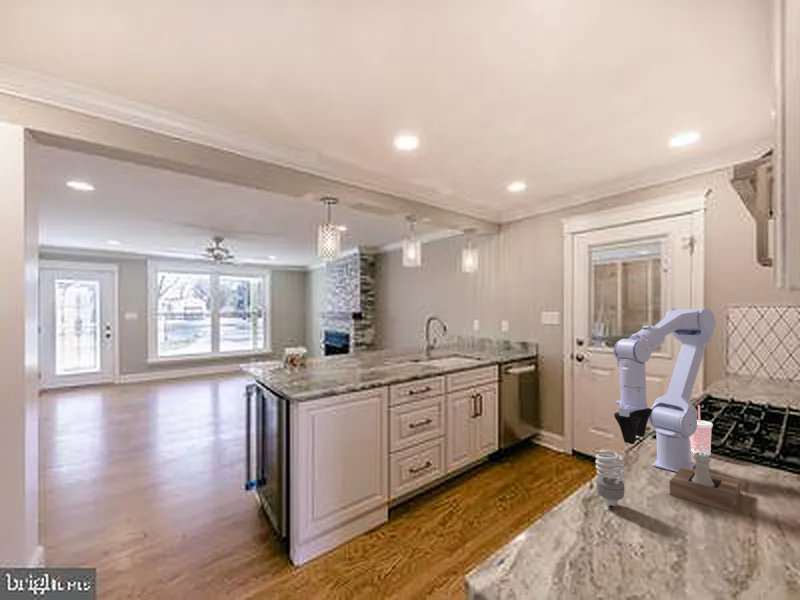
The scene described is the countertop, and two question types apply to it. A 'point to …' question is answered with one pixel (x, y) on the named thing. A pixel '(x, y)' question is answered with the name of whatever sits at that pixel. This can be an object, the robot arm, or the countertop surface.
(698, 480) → the rook chess piece
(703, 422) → the beverage cup
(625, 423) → the robot arm
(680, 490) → the socket block
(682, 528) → the countertop surface
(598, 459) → the light bulb
